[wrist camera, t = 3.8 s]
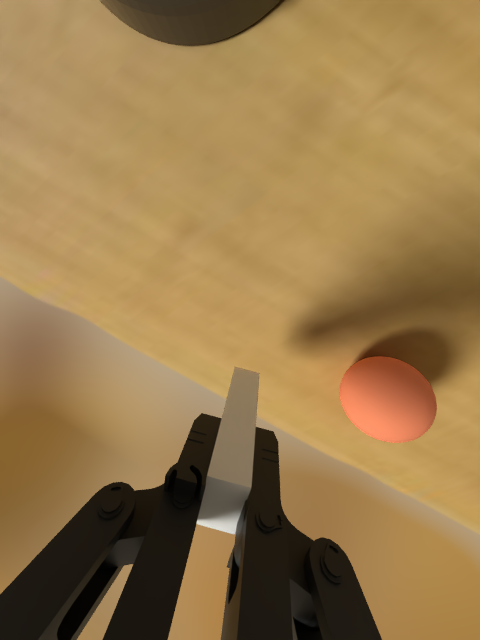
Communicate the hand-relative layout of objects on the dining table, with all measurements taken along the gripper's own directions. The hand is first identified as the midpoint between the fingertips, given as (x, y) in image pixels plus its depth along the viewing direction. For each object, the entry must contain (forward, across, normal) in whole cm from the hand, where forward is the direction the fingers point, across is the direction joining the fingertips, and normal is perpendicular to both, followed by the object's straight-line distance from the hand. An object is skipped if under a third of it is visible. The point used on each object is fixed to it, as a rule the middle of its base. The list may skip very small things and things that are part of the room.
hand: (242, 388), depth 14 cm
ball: (+2, +10, 0) cm, 10 cm away
